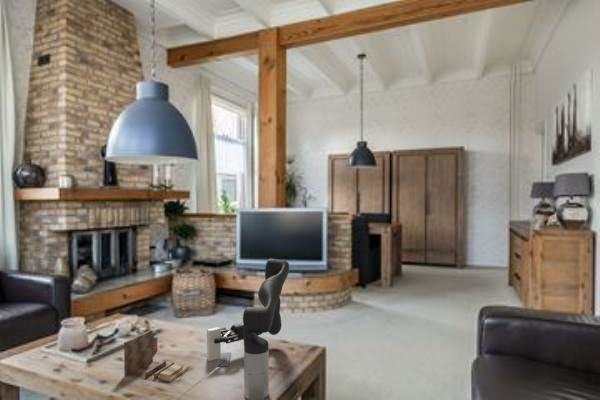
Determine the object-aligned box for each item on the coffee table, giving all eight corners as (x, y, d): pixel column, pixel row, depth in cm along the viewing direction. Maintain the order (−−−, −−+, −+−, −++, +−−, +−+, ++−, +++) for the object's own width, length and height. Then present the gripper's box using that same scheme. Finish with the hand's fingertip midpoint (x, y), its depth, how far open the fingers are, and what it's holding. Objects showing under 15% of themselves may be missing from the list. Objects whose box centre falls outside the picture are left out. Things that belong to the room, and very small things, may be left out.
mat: (228, 366, 178) (228, 365, 178) (195, 367, 177) (195, 366, 177) (230, 354, 192) (230, 352, 192) (200, 355, 191) (200, 353, 191)
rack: (150, 362, 182) (150, 329, 182) (194, 370, 175) (194, 335, 175) (124, 378, 167) (124, 342, 167) (171, 387, 160) (170, 349, 159)
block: (218, 357, 187) (218, 327, 187) (220, 358, 185) (220, 328, 185) (207, 360, 184) (206, 329, 184) (209, 361, 182) (209, 331, 182)
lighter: (139, 355, 190) (139, 334, 190) (140, 353, 194) (140, 332, 193) (157, 354, 192) (157, 333, 192) (158, 351, 196) (158, 330, 196)
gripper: (235, 319, 199) (204, 326, 189) (249, 327, 187) (217, 334, 178) (235, 334, 199) (204, 342, 190) (249, 343, 188) (217, 351, 178)
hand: (210, 338), depth 184 cm, fingers open, 8 cm apart
